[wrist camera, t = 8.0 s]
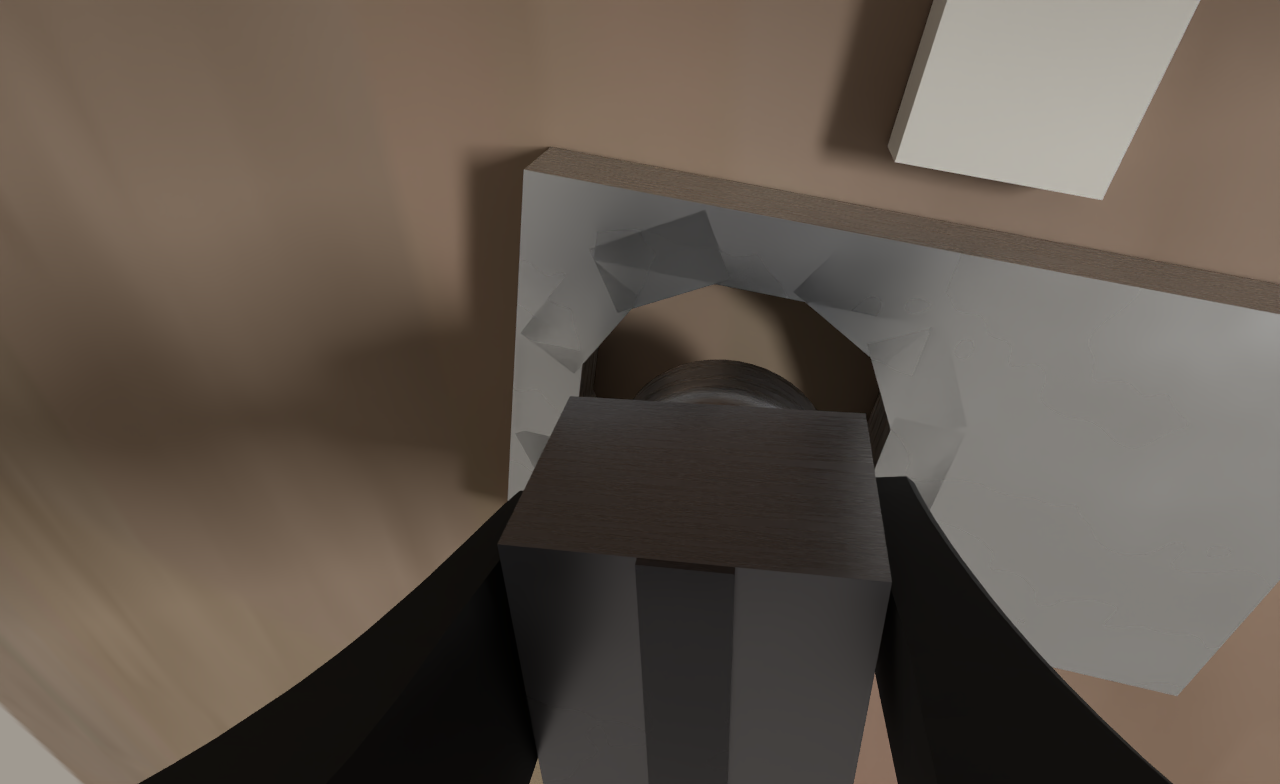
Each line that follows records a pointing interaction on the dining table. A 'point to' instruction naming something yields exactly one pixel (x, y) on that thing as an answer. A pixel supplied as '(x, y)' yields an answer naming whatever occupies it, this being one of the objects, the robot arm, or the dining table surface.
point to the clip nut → (699, 584)
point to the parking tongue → (1035, 88)
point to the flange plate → (968, 390)
